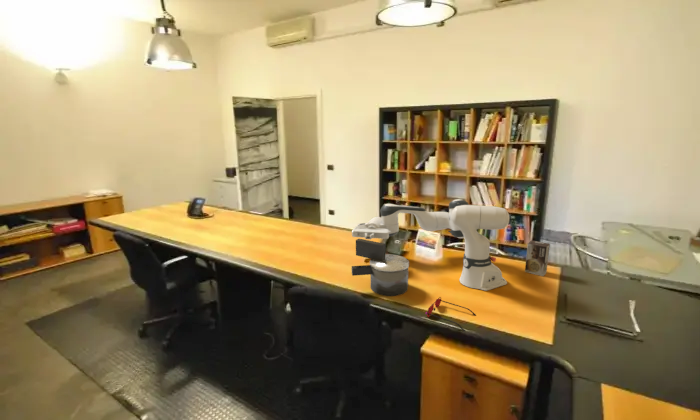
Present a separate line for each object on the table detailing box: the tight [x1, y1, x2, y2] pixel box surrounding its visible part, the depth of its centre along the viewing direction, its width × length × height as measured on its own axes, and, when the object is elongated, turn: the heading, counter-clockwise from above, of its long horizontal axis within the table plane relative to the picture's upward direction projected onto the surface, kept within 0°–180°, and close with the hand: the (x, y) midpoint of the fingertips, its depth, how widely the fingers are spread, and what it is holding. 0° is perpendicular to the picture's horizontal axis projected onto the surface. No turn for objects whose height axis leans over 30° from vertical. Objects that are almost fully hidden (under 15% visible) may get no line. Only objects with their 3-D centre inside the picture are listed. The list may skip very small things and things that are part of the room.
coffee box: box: [524, 239, 551, 277], centre depth 179 cm, size 9×6×16 cm
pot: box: [351, 264, 409, 297], centre depth 165 cm, size 27×18×12 cm, turn 96°
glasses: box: [425, 296, 477, 332], centre depth 141 cm, size 14×16×5 cm
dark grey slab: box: [355, 238, 410, 272], centre depth 166 cm, size 27×19×9 cm
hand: (368, 237), depth 181 cm, fingers closed
